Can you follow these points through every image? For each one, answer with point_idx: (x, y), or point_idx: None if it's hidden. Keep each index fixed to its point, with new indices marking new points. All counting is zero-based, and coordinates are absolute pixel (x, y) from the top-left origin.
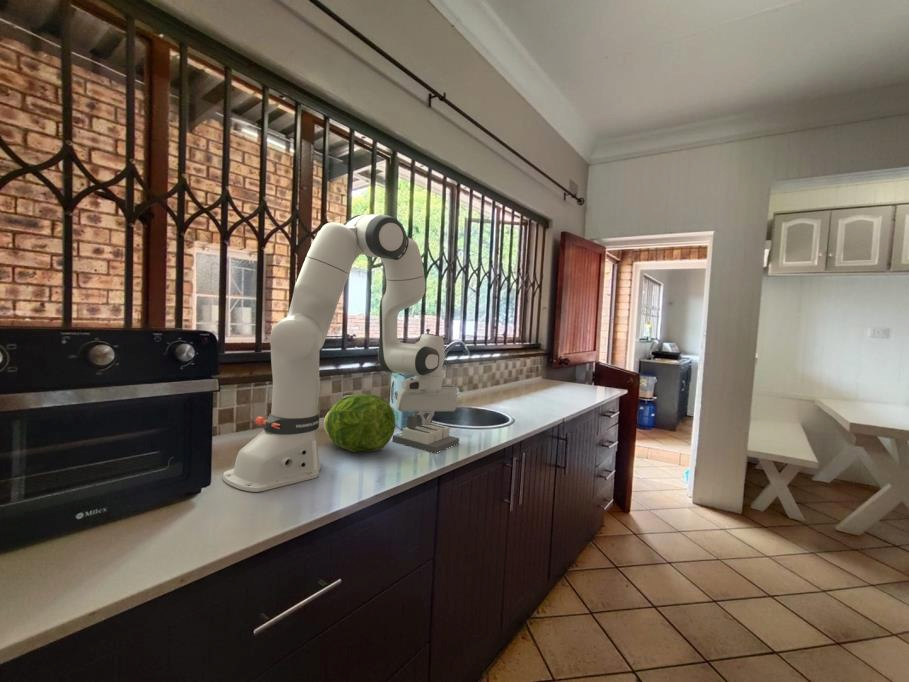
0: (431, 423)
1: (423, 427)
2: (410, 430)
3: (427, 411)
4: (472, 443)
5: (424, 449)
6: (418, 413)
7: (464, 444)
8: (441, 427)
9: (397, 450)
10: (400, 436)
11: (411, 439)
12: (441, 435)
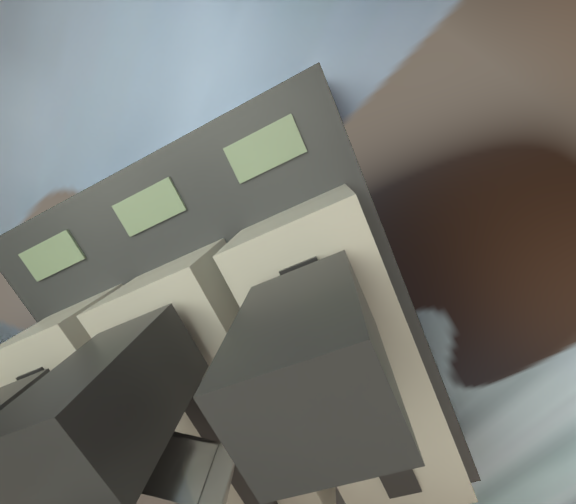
0: (379, 301)
1: (186, 410)
2: None
3: (342, 355)
4: (569, 463)
5: None
6: (23, 444)
7: (494, 456)
8: (380, 477)
9: None
10: (39, 289)
11: None
12: None
